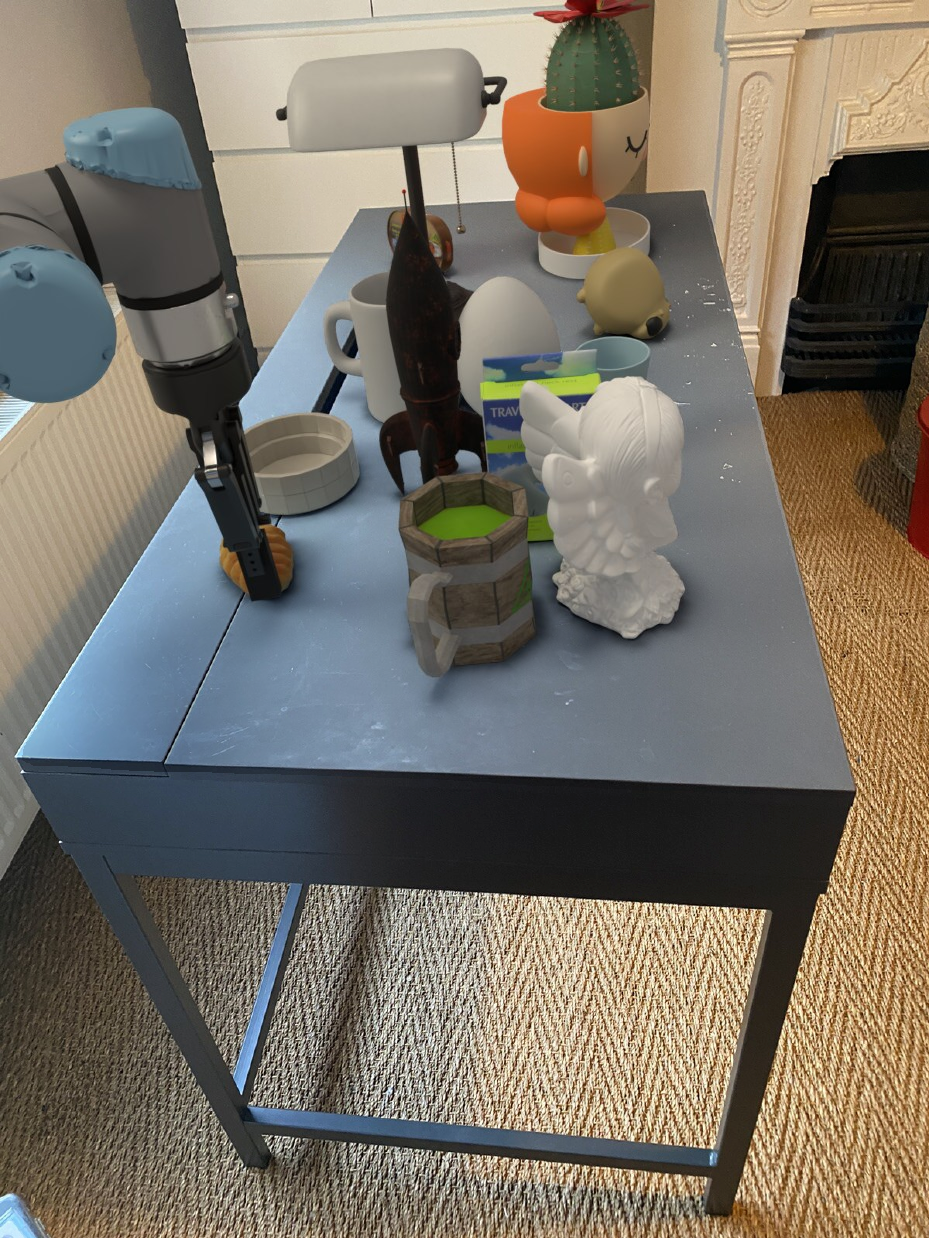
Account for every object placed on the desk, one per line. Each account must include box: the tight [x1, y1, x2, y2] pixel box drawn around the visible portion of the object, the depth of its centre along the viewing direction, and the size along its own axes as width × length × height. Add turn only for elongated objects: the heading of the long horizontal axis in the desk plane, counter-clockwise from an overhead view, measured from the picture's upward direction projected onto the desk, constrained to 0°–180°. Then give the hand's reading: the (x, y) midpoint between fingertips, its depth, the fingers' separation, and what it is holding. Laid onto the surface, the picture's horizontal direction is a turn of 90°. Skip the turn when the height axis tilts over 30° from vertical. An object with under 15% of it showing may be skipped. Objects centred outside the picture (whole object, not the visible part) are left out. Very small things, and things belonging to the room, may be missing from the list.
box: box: [480, 349, 601, 542], centre depth 84 cm, size 10×4×17 cm, turn 88°
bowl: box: [244, 412, 361, 516], centre depth 99 cm, size 13×13×5 cm
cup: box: [574, 336, 651, 383], centre depth 97 cm, size 8×8×10 cm
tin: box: [386, 207, 454, 273], centre depth 144 cm, size 15×3×8 cm, turn 37°
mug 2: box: [398, 471, 537, 679], centre depth 75 cm, size 16×11×12 cm
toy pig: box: [575, 247, 672, 340], centre depth 119 cm, size 10×12×11 cm
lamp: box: [275, 47, 508, 321], centre depth 118 cm, size 26×24×34 cm
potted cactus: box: [501, 0, 652, 280], centre depth 133 cm, size 22×22×35 cm
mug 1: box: [323, 269, 461, 424], centre depth 108 cm, size 16×11×14 cm
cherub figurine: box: [519, 376, 686, 640], centre depth 74 cm, size 13×12×20 cm
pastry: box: [219, 523, 295, 597], centre depth 88 cm, size 9×7×4 cm
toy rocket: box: [378, 188, 488, 497], centre depth 86 cm, size 9×9×30 cm
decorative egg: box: [457, 275, 562, 417], centre depth 105 cm, size 12×12×15 cm
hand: (266, 594), depth 84 cm, fingers closed
